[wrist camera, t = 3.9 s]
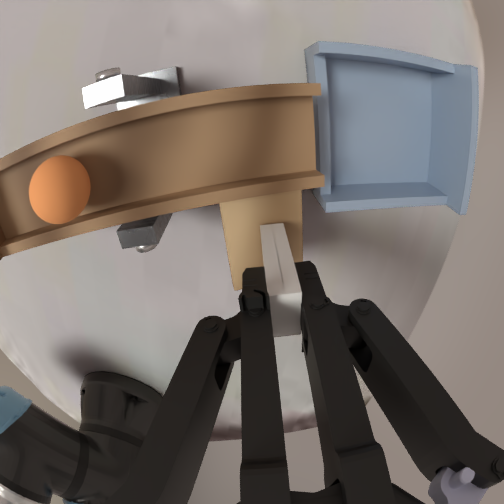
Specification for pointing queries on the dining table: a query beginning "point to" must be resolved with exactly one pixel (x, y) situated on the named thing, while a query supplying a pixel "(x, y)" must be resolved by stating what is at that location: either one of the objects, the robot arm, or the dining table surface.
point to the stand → (128, 95)
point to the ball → (59, 189)
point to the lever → (181, 168)
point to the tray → (392, 128)
